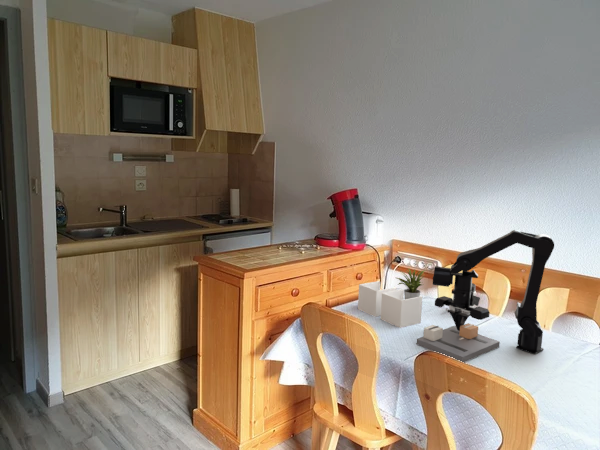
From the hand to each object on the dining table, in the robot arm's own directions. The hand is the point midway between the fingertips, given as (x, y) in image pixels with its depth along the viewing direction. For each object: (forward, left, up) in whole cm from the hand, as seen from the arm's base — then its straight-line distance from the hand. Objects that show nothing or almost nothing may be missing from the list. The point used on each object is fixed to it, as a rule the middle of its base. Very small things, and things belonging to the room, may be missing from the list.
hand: (459, 330), depth 166 cm
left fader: (+2, +12, -1) cm, 12 cm away
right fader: (-4, 0, -1) cm, 4 cm away
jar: (+16, -28, -3) cm, 33 cm away
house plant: (+35, -18, -3) cm, 40 cm away
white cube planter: (+31, +3, -3) cm, 31 cm away
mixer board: (-4, +6, -3) cm, 8 cm away
